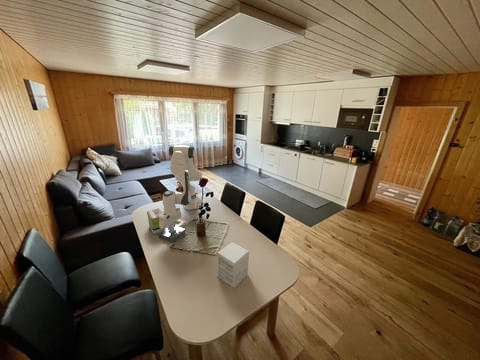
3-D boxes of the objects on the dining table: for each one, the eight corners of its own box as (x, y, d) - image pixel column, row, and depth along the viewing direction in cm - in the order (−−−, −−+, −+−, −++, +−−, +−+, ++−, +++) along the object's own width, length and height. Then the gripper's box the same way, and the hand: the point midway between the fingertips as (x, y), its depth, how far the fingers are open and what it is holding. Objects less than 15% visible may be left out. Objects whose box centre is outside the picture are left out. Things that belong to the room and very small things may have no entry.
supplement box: (232, 264, 125) (232, 241, 119) (248, 274, 117) (249, 250, 112) (217, 276, 115) (216, 252, 110) (233, 288, 107) (234, 263, 102)
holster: (176, 221, 172) (176, 218, 171) (186, 224, 168) (185, 221, 167) (168, 227, 163) (168, 224, 162) (178, 230, 159) (178, 226, 158)
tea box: (148, 226, 163) (146, 210, 158) (161, 222, 169) (159, 207, 164) (153, 235, 152) (151, 218, 147) (166, 230, 158) (164, 214, 153)
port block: (171, 228, 161) (171, 224, 159) (185, 233, 156) (185, 228, 154) (159, 238, 148) (158, 233, 147) (173, 243, 143) (172, 237, 142)
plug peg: (172, 233, 155) (171, 220, 151) (176, 234, 153) (175, 221, 149) (168, 235, 151) (167, 222, 147) (172, 237, 149) (171, 223, 145)
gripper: (176, 205, 155) (177, 220, 160) (156, 217, 138) (158, 233, 142) (182, 207, 153) (183, 222, 158) (163, 219, 135) (165, 236, 140)
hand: (171, 228), depth 150 cm, fingers open, 4 cm apart
